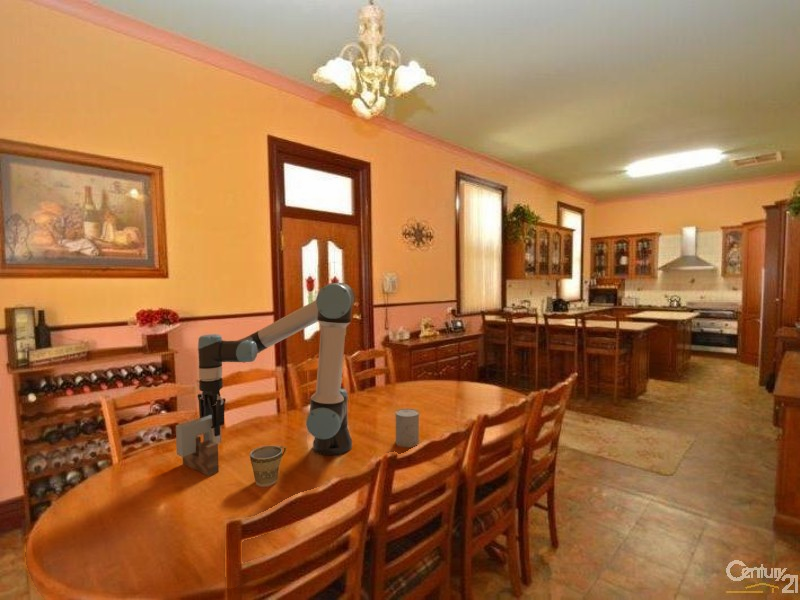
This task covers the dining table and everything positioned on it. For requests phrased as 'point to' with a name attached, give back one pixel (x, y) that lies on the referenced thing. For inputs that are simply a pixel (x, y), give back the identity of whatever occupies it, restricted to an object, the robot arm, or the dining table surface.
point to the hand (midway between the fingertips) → (212, 442)
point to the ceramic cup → (266, 464)
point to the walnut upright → (203, 457)
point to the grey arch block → (193, 434)
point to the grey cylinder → (407, 427)
